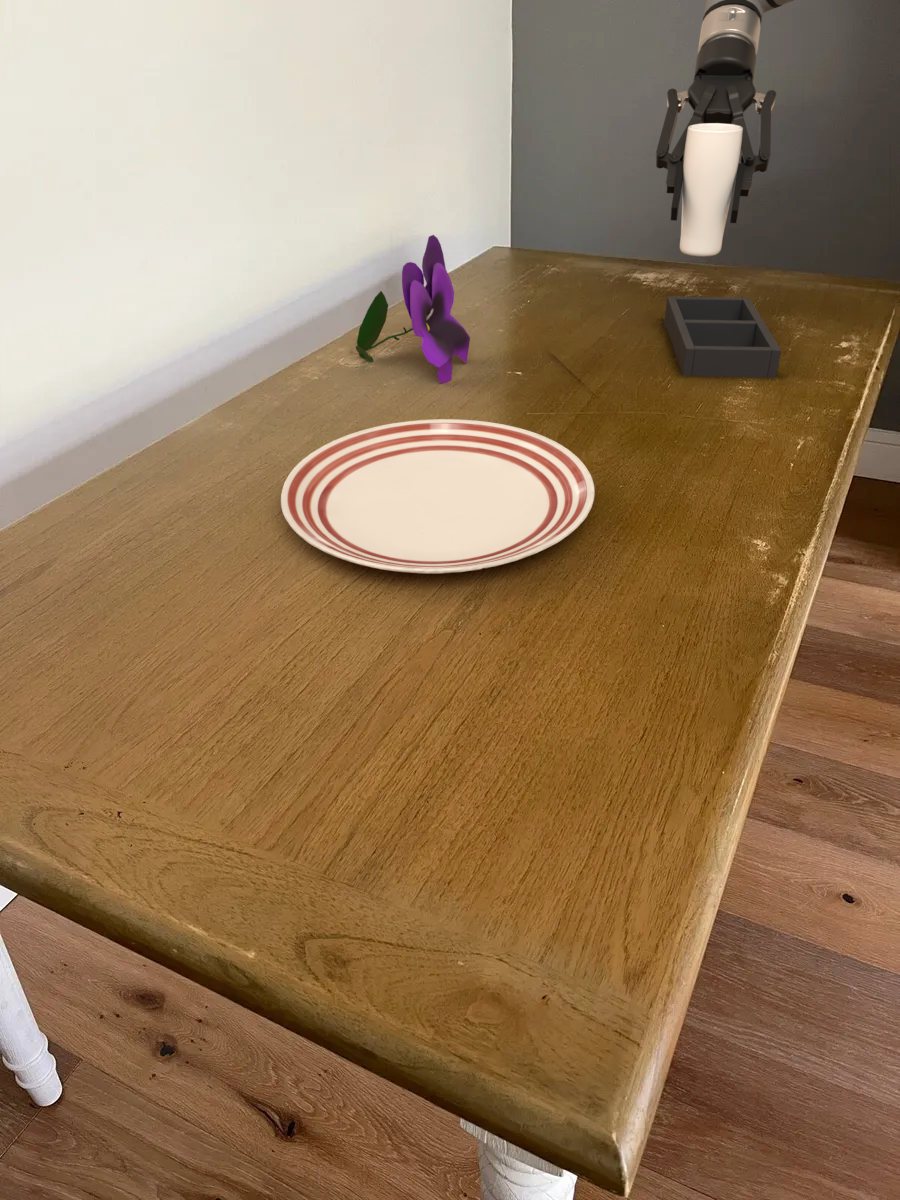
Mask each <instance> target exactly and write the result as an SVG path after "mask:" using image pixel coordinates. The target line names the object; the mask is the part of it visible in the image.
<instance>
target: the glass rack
mask: <svg viewBox="0 0 900 1200" xmlns="http://www.w3.org/2000/svg"><path fill="white" fill-rule="evenodd" d="M663 329H666V330H667V333H668V336H669V339H670V343H671V345H672V348H673V352H674V354H675V357H676V361H677V363H678V366H679V369H680V372H681V375H682V376H683V377H726V378H727V377H732V378H733V377H734V378H777V375H778V370H779V363H780V359H781V353H782V349H781V348H780V346H779V344H778V342H777V341H776V339H775V337H774V336H773V335H772V332H771V331H770V330H769V328H768V326H767V324H766V323H765V321H764V320H763V318H762V317H761V315H760V312H759V311H758V310H757V308H756V307H755V305H754V303H753V301H752V300H751V298H750V297H736V296H735V297H734V296H733V297H732V296H731V297H729V296H728V297H727V296H667V297H666V305H665V312H664V321H663Z"/></svg>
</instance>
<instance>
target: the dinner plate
mask: <svg viewBox="0 0 900 1200" xmlns="http://www.w3.org/2000/svg"><path fill="white" fill-rule="evenodd" d="M595 493H596V492H595V484H594V480H593V476H592V475H591V473H590V471H589V469H588V468H587V466H586V465H585V464H584V463H583V461H582V460H581V459H580V458H579V457H578V456H577V455H576V454H575V453H574V452H572V451H571V450H569V449H568V448H566V447H565V446H564V445H562V444H560V443H559V442H557V441H555V440H553V439H551V438H550V437H549V438H548V437H546V436H544V435H542V434H539V433H536V432H534V431H531V430H527V429H524V428H521V427H516V426H513V425H509V424H502V423H497V422H492V421H483V420H475V419H474V420H473V419H456V418H455V419H454V418H453V419H451V418H439V419H437V418H435V419H433V418H432V419H418V420H409V421H400V422H393V423H387V424H382V425H378V426H373V427H369V428H366V429H362V430H359V431H356V432H353V433H349V434H347V435H344V436H341V437H339V438H336V439H334V440H332V441H330V442H328V443H326V444H325V445H323V446H321V447H319V448H317V449H316V450H313V451H312V452H311V453H310V454H308V455H306V457H304V458H303V459H301V460H300V461H299V462H298V463H297V464H296V465H295V466H294V467H293V469H292V470H291V471H290V473H289V474H288V476H287V477H286V479H285V480H284V483H283V486H282V489H281V494H280V507H281V511H282V514H283V517H284V519H285V521H286V523H288V525H289V526H290V528H291V529H292V530H293V531H294V532H295V533H296V535H298V536H299V537H300V538H301V539H302V540H304V541H305V542H306V543H308V544H309V545H310V546H313V547H314V548H316V549H318V550H320V551H322V552H324V553H325V554H328V555H329V556H332V557H335V558H338V559H340V560H343V561H346V562H349V563H352V564H356V565H359V566H363V567H368V568H372V569H376V570H377V569H378V570H384V571H391V572H396V573H397V572H399V573H411V574H451V573H463V572H470V571H471V572H472V571H478V570H479V571H480V570H482V569H489V568H492V567H493V568H494V567H498V566H501V565H505V564H509V563H512V562H516V561H519V560H522V559H525V558H528V557H530V556H532V555H535V554H538V553H539V552H542V551H544V550H546V549H548V548H550V547H552V546H554V545H556V544H558V543H559V542H561V541H562V540H564V539H565V538H566V537H568V536H570V535H571V534H572V533H573V532H574V531H575V530H577V529H578V528H579V527H580V525H581V524H582V523H583V522H584V521H585V520H586V519H587V517H588V515H589V513H590V511H591V509H592V508H593V504H594V501H595Z"/></svg>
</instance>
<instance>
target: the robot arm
mask: <svg viewBox="0 0 900 1200" xmlns="http://www.w3.org/2000/svg"><path fill="white" fill-rule="evenodd" d="M793 1H794V0H705V3H704V11H703V12H704V13H703V17H702V22H701V27H700V34H699V42H698V47H697V55H696V61H695V68H694V74H693V81H692V83H691V84H690V86H689V87H688V89H687V90H684V91H677V89H676V88H669V89H668V90H667V94H666V114H665V118H664V121H663V125H662V129H661V131H660V132H661V133H660V136H659V140H658V142H657V143H658V144H657V148H656V152H655V167H656V168H657V169H665V170H667V174H666V181H665V191H666V194H672V202H671V209H670V221H678V217H679V216H678V214H679V210H680V209H679V208H680V202H681V197H682V196H681V195H682V190H683V163H684V151H685V143H686V137H687V131H688V127H689V126H691V125H695V124H705V123H721V124H733V125H738V126H741V127H742V128H743V133H742V144H741V152H740V158H739V164H738V169H737V174H736V179H735V183H734V189H733V197H732V206H731V213H730V220H729V223H730V224H737V221H738V214H739V207H740V199H741V197H749V195H750V194H751V189H752V183H753V176H754V174H755V173H756V172H760V173H764V172H767V171H768V169H769V165H770V159H771V141H772V139H771V138H772V137H771V136H772V135H771V133H772V131H771V130H772V113H773V111H774V108H775V103H776V99H777V97H776V96H777V91H775V90H773V89H771V90H768V91H767V92H766V93H763V92H759V91H757V89H756V87H755V84H754V79H755V71H756V64H757V55H758V51H759V44H760V43H759V42H760V35H761V28H762V21H763V15H764V14H765V13H767V12H769V11H772V10H774V9H777V8H780V7H782V6H784V5H786V4H788V3H791V2H793ZM687 103H688V104H689V106H690V107H691V109H692V110H693V113H692V115H691V118H690V120H689V121H688V123H687V125H686V127H685V129H684V130H683V132H682V134H681V136H680V137H679V140H678V141H677V143H676V145H675V146H674V148H673V150H672V152H671V153H670V150H671V149H670V148H671V145H672V142H673V141H672V140H673V138H674V134H675V130H676V126H677V122H678V116H679V115H678V113H681V112H682V110H683V109H684V107H685V104H687ZM752 105H755V112H756V113H757V114H758V115H759V119H758V140H757V141H758V143H757V144H758V147H757V150H758V153H757V155H756V154H754V151H753V147H752V143H751V140H750V137H749V132H748V128H747V125H746V122H745V118H744V113H745V112H746V111H747V109H749V108H750V106H752Z"/></svg>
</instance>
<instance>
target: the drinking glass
mask: <svg viewBox="0 0 900 1200" xmlns="http://www.w3.org/2000/svg"><path fill="white" fill-rule="evenodd" d="M742 133H743V128H742V127H741V126H738V125H733V124H721V123H705V124H695V125H691V126H689V127H688V131H687V137H686V143H685V151H684V161H683V162H684V163H683V182H682V189H681V195H682V196H681V220H680V221H681V224H680V238H679V239H680V240H679V251H680V252H681V253H682V254H684V255H686V256H690V257H694V258H695V257H697V258H709V257H713V256H717V255H718V254H719V253H720V252H721V251H722V247H723V246H722V245H723V239H724V233H725V228H726V224H727V220H728V214H729V210H730V206H731V205H730V204H731V201H732V198H733V197H732V196H733V193H734V189H735V183H736V176H737V169H738V164H739V163H740V160H739V158H740V152H741V144H742Z"/></svg>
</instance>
